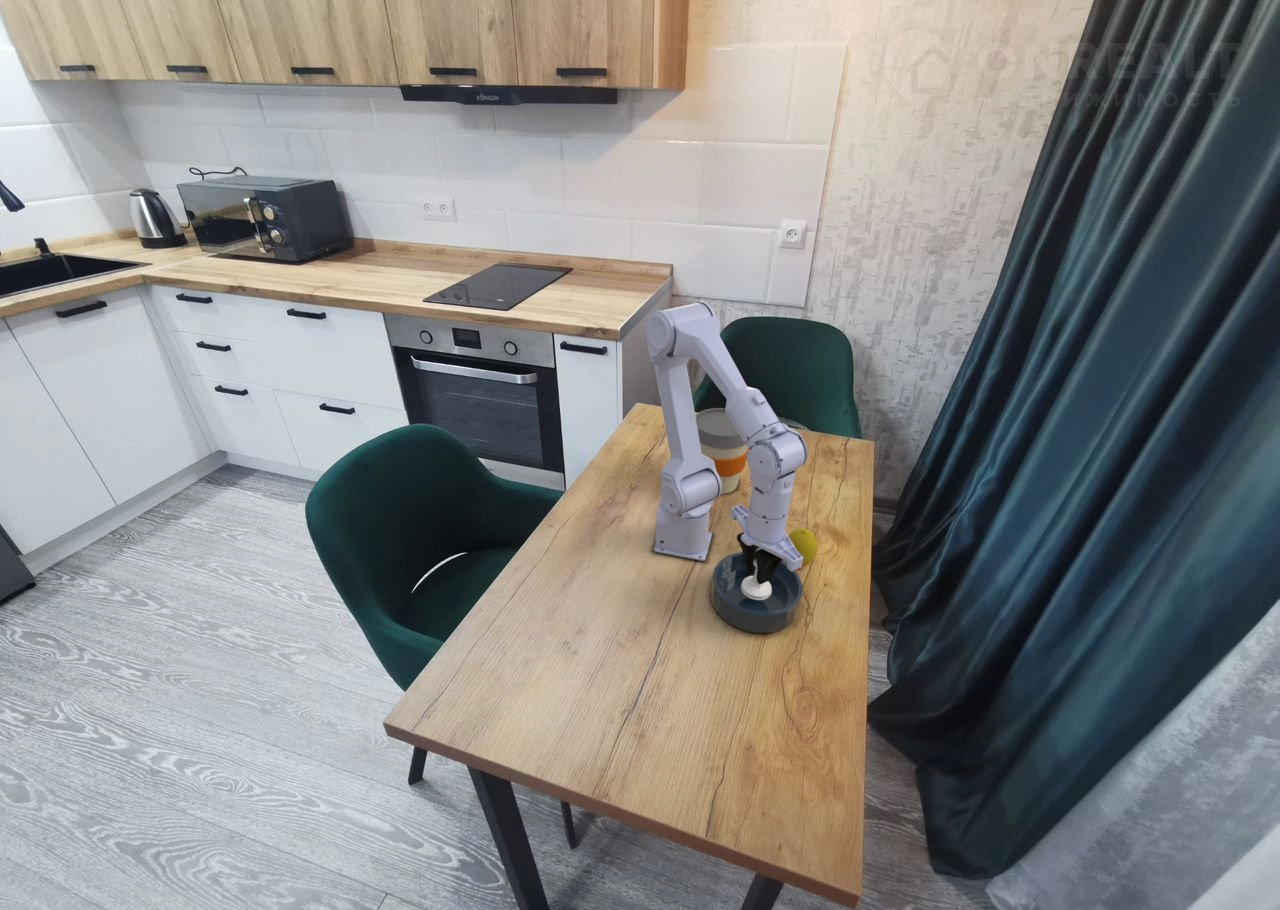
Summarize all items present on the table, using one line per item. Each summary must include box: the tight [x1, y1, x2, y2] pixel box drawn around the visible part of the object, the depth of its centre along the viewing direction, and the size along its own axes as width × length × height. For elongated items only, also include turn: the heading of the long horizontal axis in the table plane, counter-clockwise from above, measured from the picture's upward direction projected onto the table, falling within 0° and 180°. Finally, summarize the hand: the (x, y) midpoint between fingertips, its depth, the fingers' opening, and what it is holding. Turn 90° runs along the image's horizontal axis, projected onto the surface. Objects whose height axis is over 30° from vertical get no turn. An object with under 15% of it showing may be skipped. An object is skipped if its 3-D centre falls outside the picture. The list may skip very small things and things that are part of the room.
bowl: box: [710, 551, 804, 634], centre depth 92 cm, size 14×14×5 cm
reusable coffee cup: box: [695, 407, 750, 495], centre depth 119 cm, size 12×13×15 cm
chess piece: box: [741, 548, 772, 600], centre depth 89 cm, size 5×5×10 cm
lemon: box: [788, 528, 818, 568], centre depth 99 cm, size 6×6×8 cm
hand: (758, 575), depth 90 cm, fingers closed on chess piece
